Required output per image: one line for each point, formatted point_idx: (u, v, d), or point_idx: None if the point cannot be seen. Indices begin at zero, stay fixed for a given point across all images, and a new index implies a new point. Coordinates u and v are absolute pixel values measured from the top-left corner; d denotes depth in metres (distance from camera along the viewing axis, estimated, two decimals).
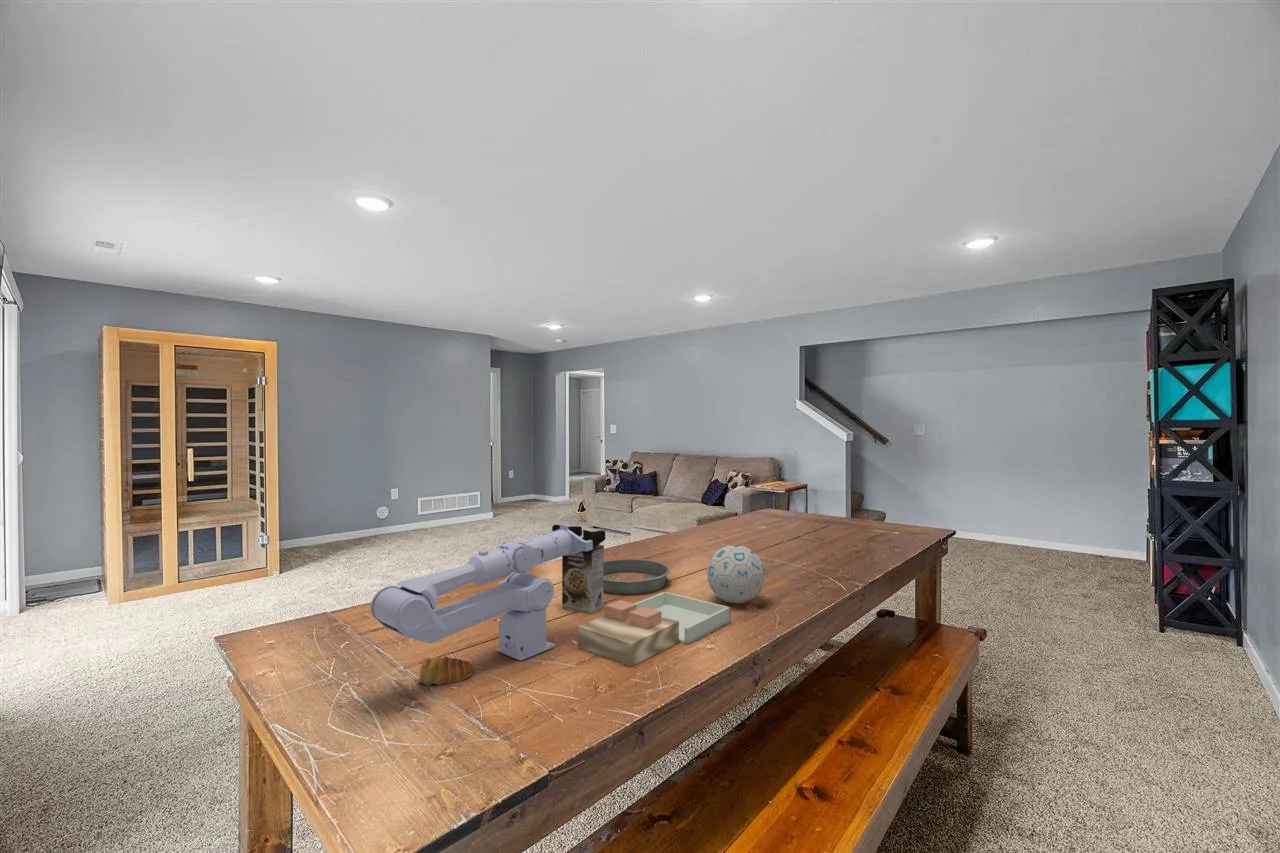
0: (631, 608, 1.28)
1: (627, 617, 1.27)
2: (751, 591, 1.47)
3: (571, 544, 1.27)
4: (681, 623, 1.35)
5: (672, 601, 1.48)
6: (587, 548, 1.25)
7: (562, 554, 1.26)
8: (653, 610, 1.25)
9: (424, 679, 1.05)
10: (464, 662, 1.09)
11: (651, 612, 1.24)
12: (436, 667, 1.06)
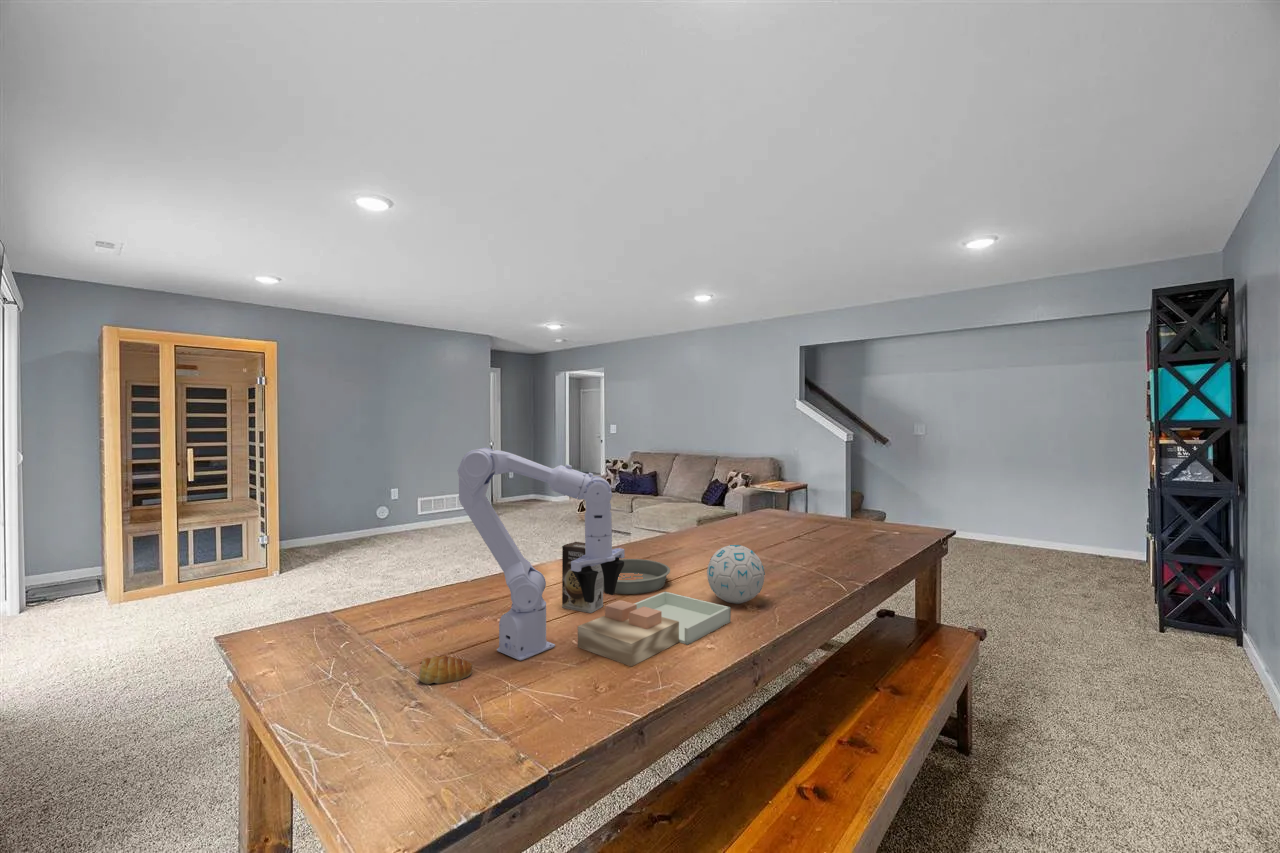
0: (631, 608, 1.28)
1: (627, 617, 1.27)
2: (751, 591, 1.47)
3: (589, 556, 1.20)
4: (681, 623, 1.35)
5: (672, 601, 1.48)
6: (573, 562, 1.17)
7: (585, 544, 1.22)
8: (653, 610, 1.25)
9: (424, 679, 1.05)
10: (463, 661, 1.09)
11: (651, 612, 1.24)
12: (436, 666, 1.06)
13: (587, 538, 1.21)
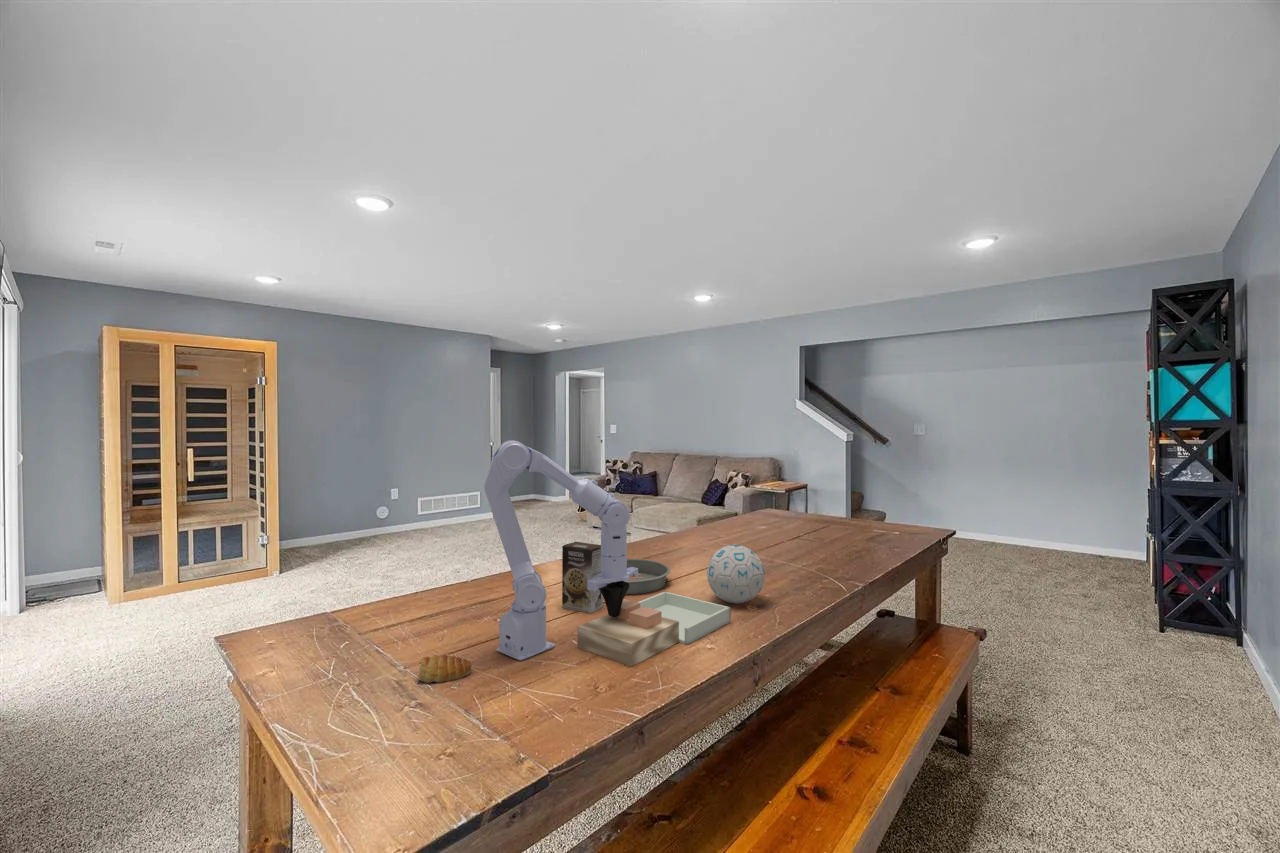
0: (635, 607, 1.28)
1: None
2: (751, 591, 1.47)
3: (604, 575, 1.24)
4: (681, 623, 1.35)
5: (672, 601, 1.48)
6: (589, 582, 1.21)
7: None
8: (653, 610, 1.25)
9: (424, 677, 1.06)
10: (462, 660, 1.10)
11: (651, 612, 1.24)
12: (435, 665, 1.07)
13: (603, 558, 1.25)
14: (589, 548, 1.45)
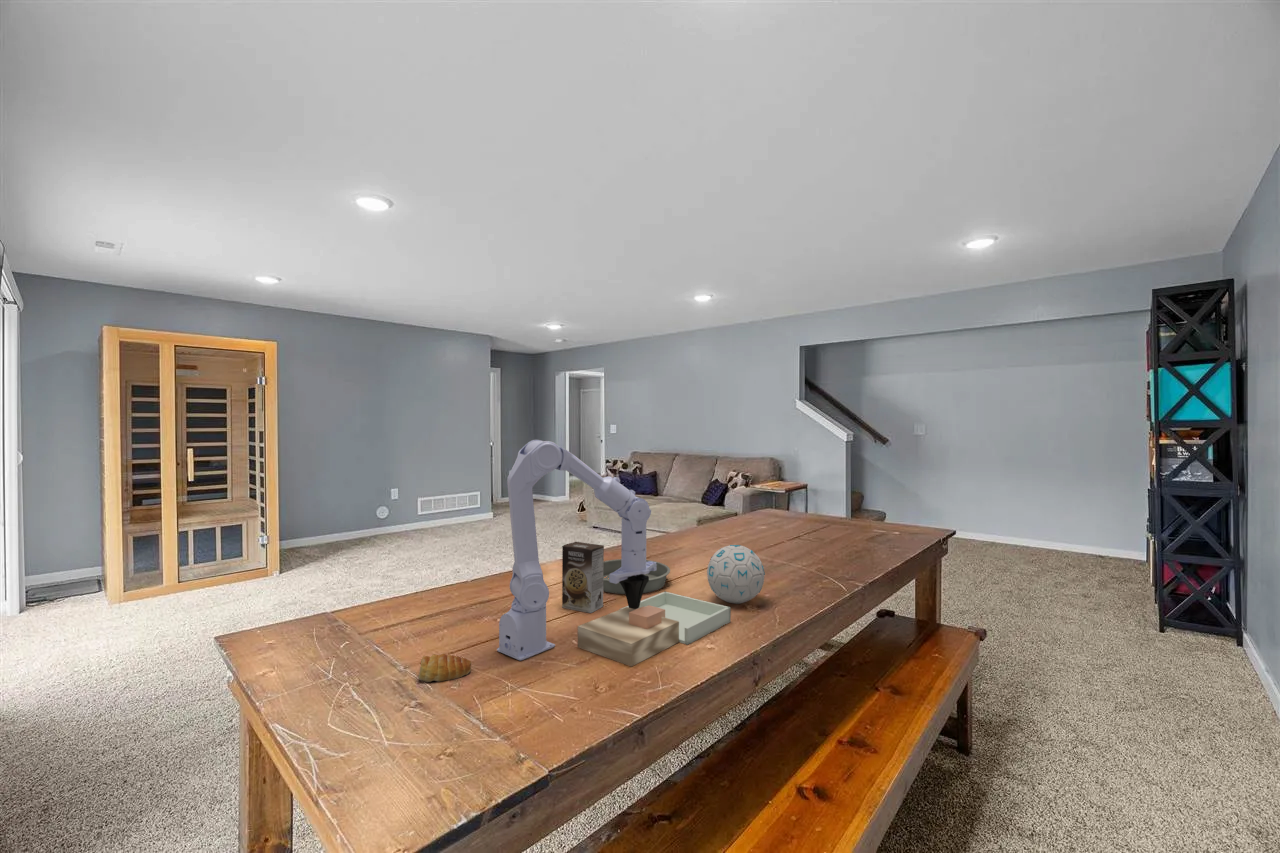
0: None
1: None
2: (751, 591, 1.47)
3: (625, 569, 1.30)
4: (681, 623, 1.35)
5: (672, 601, 1.48)
6: (611, 575, 1.27)
7: (621, 557, 1.31)
8: (653, 610, 1.25)
9: (424, 677, 1.06)
10: (462, 659, 1.10)
11: (651, 612, 1.24)
12: (435, 664, 1.07)
13: (624, 552, 1.30)
14: (589, 548, 1.45)
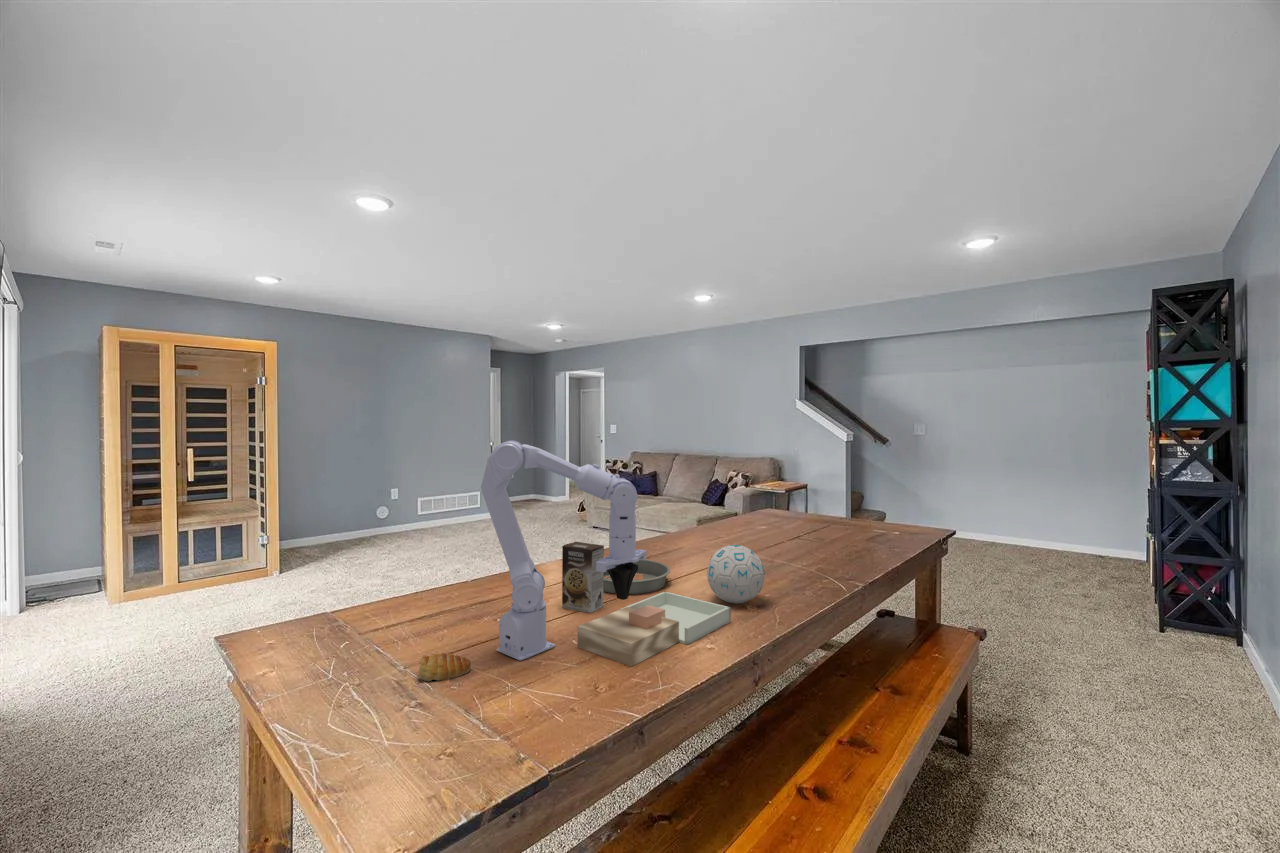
0: None
1: None
2: (751, 591, 1.47)
3: (613, 556, 1.22)
4: (681, 623, 1.35)
5: (672, 601, 1.48)
6: (598, 563, 1.19)
7: (609, 545, 1.23)
8: (653, 610, 1.25)
9: (424, 676, 1.06)
10: (462, 658, 1.11)
11: (651, 612, 1.24)
12: (435, 663, 1.08)
13: (612, 539, 1.22)
14: (589, 548, 1.45)
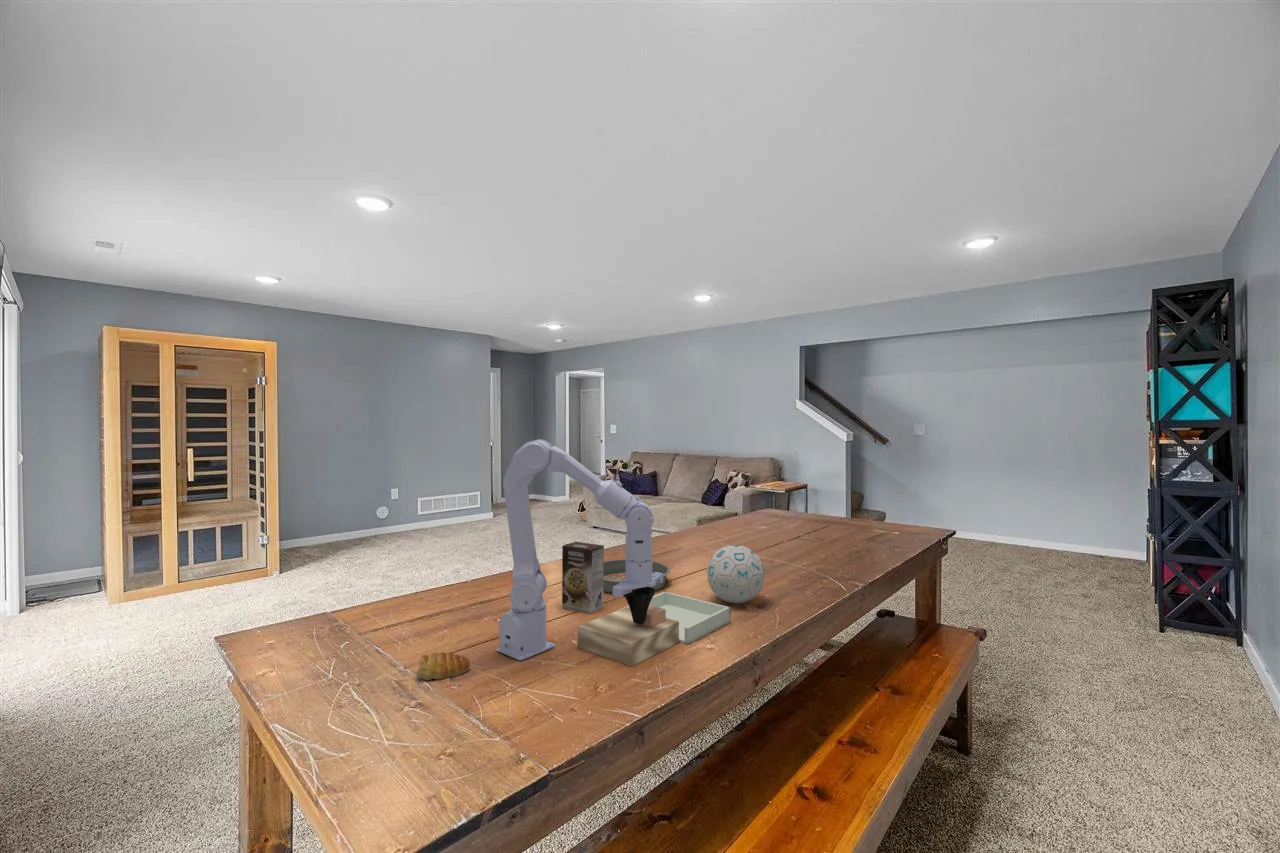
0: None
1: None
2: (751, 591, 1.47)
3: (630, 581, 1.20)
4: (681, 623, 1.35)
5: (672, 601, 1.48)
6: (614, 588, 1.17)
7: (625, 568, 1.22)
8: (657, 608, 1.26)
9: (423, 675, 1.07)
10: (461, 657, 1.11)
11: (655, 610, 1.25)
12: (435, 662, 1.08)
13: (628, 563, 1.20)
14: (589, 548, 1.45)
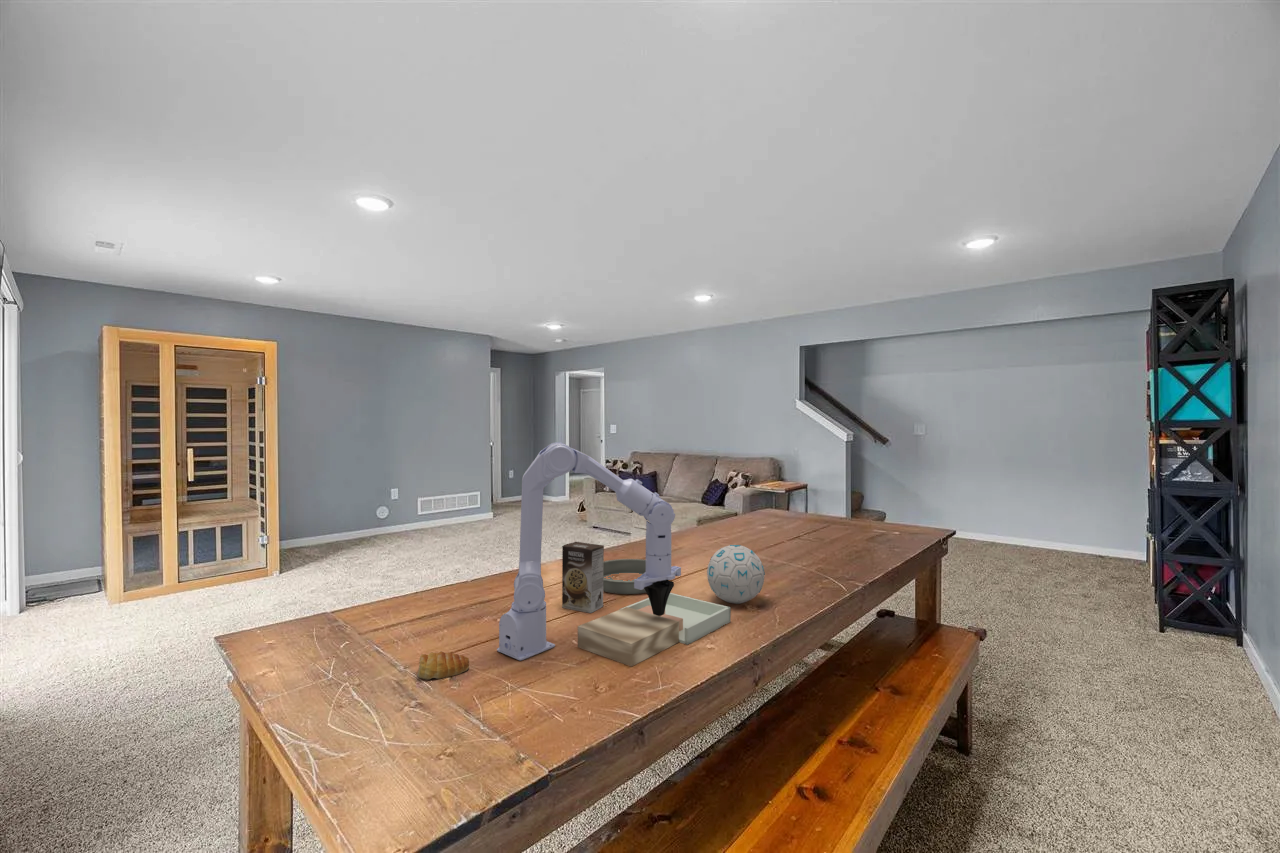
0: None
1: None
2: (751, 591, 1.47)
3: (650, 574, 1.25)
4: None
5: (672, 601, 1.48)
6: (636, 581, 1.22)
7: (646, 562, 1.27)
8: (675, 617, 1.32)
9: (423, 674, 1.07)
10: (460, 656, 1.12)
11: (673, 619, 1.31)
12: (434, 662, 1.08)
13: (648, 557, 1.26)
14: (589, 548, 1.45)
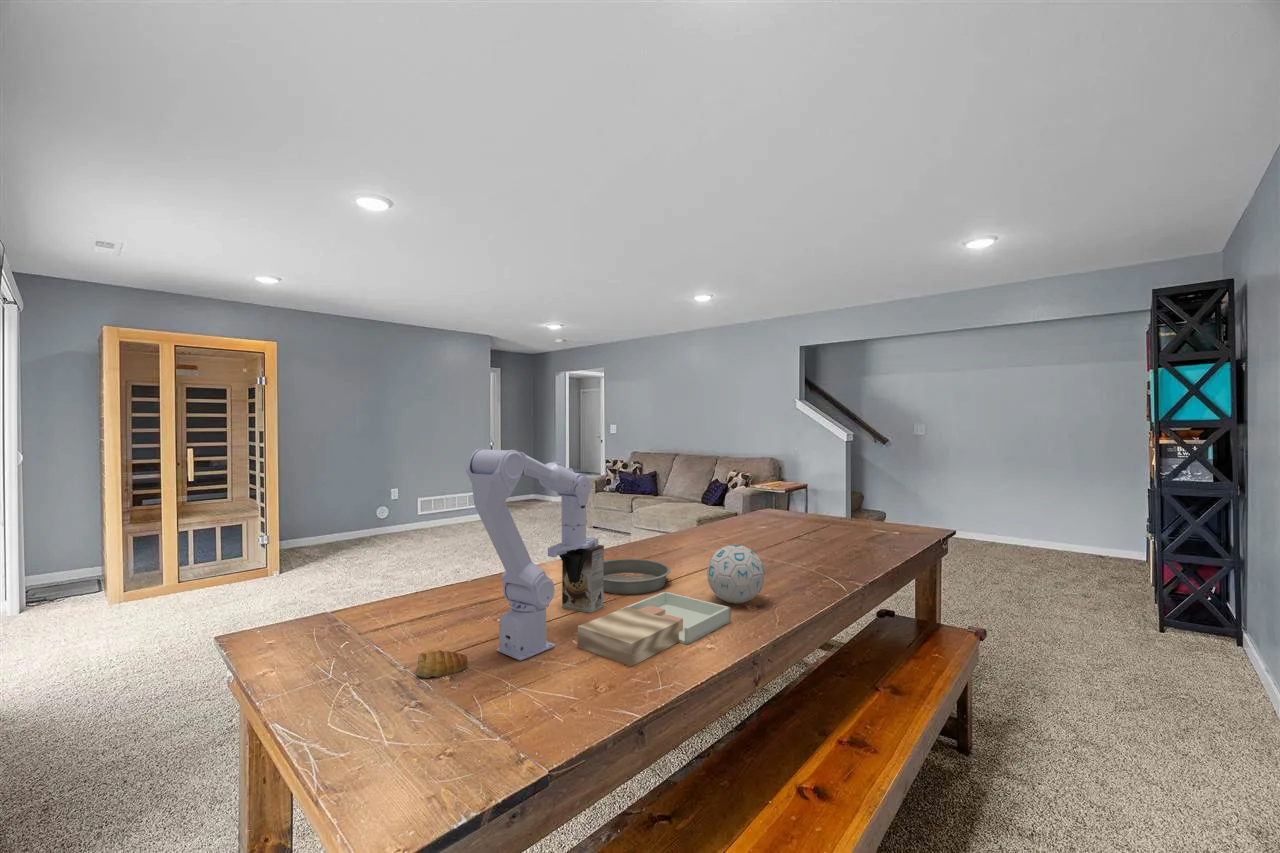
0: None
1: (660, 613, 1.36)
2: (751, 591, 1.47)
3: (564, 543, 1.32)
4: None
5: (672, 601, 1.48)
6: (549, 549, 1.29)
7: None
8: (675, 617, 1.32)
9: (423, 673, 1.08)
10: (459, 654, 1.13)
11: (673, 619, 1.31)
12: (433, 660, 1.09)
13: (563, 527, 1.33)
14: (589, 548, 1.45)
